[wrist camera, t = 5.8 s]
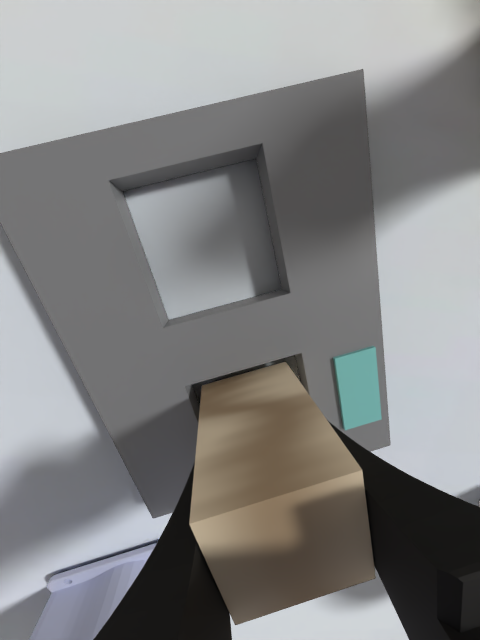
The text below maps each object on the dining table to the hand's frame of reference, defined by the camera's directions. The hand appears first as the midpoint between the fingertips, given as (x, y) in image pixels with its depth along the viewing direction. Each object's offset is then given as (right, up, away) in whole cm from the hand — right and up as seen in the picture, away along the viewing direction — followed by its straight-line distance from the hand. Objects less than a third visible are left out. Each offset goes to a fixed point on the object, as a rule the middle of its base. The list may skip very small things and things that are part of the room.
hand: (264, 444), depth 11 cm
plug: (0, +1, +2) cm, 3 cm away
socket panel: (-2, +5, +2) cm, 6 cm away
